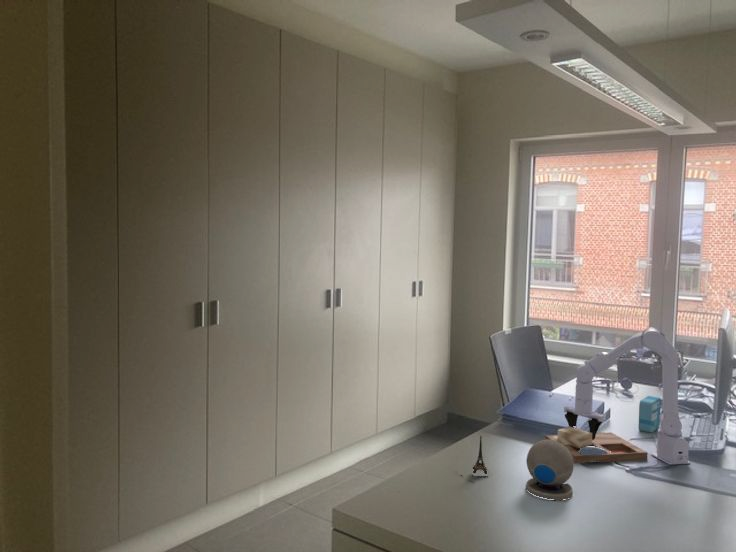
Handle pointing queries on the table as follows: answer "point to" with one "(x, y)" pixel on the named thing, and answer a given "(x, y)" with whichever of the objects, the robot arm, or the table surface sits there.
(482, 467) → the eiffel tower figurine
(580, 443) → the birch block
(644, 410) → the data package
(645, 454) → the trap deck
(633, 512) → the table surface
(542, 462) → the webcam
